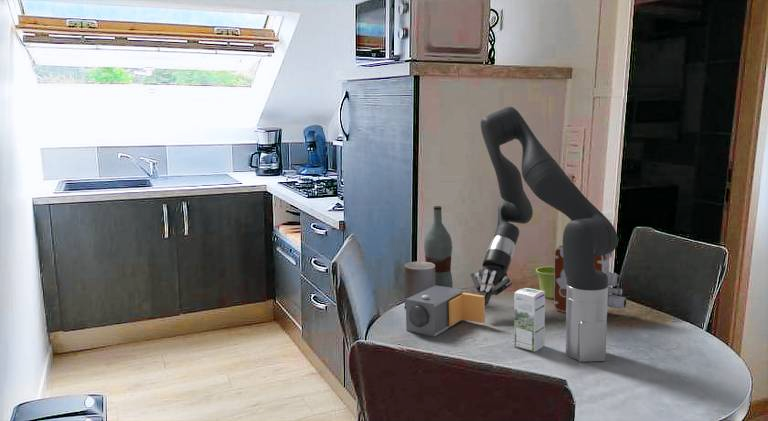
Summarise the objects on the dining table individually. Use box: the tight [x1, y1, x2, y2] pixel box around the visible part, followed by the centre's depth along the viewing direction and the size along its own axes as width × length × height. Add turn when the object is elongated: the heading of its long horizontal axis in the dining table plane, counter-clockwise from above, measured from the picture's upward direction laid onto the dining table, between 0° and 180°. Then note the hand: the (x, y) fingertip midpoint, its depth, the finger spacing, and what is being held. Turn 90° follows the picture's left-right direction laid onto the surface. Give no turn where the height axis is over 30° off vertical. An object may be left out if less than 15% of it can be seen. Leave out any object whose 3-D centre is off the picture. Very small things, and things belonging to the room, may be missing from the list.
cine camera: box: [553, 244, 628, 313], centre depth 165 cm, size 9×19×20 cm, turn 53°
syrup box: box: [513, 287, 546, 353], centre depth 142 cm, size 6×6×14 cm
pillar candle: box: [403, 260, 435, 310], centre depth 175 cm, size 10×10×15 cm
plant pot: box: [535, 266, 554, 299], centre depth 184 cm, size 9×9×9 cm
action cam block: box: [405, 285, 464, 338], centre depth 159 cm, size 17×9×10 cm, turn 145°
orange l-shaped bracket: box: [449, 292, 486, 327], centre depth 157 cm, size 8×7×8 cm
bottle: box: [423, 205, 454, 288], centre depth 186 cm, size 9×9×30 cm
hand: (481, 305), depth 162 cm, fingers closed
